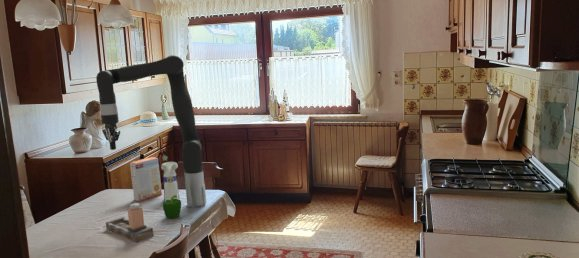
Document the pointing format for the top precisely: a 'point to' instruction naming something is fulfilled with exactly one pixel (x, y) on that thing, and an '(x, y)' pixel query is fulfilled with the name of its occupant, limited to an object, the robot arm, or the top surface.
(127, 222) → the fader track
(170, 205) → the bell pepper
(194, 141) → the robot arm
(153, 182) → the cracker box
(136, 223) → the slider tab
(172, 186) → the white bottle
